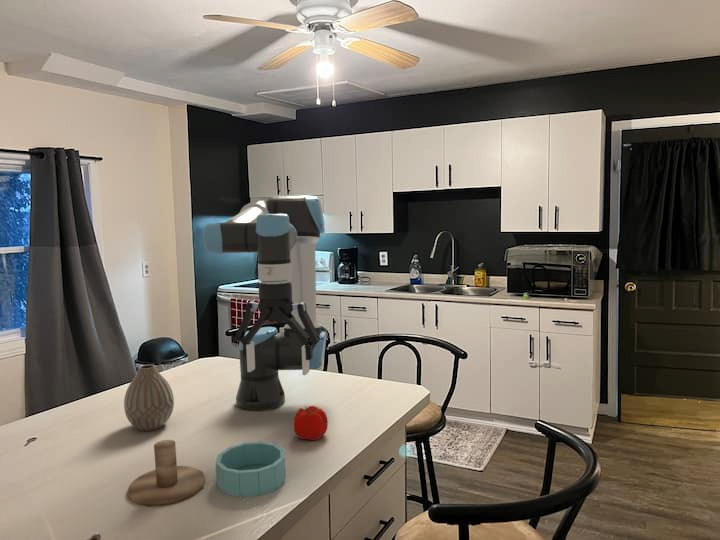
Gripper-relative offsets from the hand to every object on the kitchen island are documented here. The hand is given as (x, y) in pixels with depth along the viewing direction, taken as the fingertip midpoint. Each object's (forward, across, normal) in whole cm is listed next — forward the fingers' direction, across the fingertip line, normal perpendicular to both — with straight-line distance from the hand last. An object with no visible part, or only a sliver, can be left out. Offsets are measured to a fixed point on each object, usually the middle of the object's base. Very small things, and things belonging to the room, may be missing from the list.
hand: (278, 372), depth 130 cm
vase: (+23, -46, +15) cm, 53 cm away
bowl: (+23, -4, -8) cm, 25 cm away
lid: (+23, -21, -15) cm, 34 cm away
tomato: (+23, +1, +17) cm, 29 cm away
